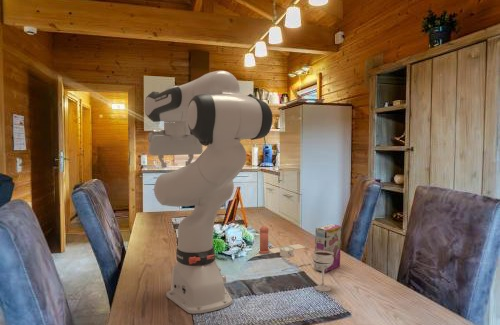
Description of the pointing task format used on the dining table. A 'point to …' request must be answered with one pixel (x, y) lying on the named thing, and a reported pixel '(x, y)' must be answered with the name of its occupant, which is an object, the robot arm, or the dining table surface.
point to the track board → (275, 250)
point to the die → (286, 252)
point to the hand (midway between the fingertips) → (176, 166)
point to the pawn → (264, 240)
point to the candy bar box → (329, 243)
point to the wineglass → (323, 264)
